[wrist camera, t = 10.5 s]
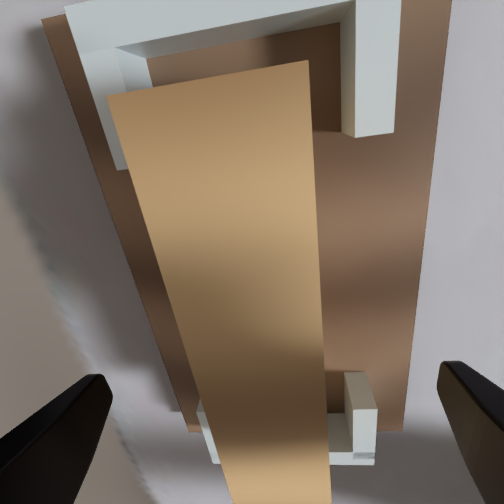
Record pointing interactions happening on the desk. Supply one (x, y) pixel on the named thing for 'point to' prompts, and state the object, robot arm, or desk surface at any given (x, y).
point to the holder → (325, 166)
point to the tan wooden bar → (240, 265)
